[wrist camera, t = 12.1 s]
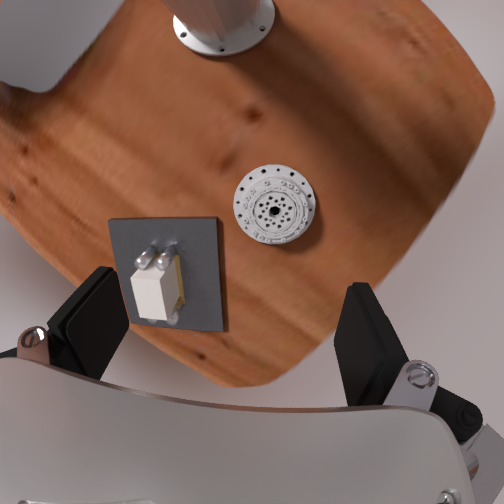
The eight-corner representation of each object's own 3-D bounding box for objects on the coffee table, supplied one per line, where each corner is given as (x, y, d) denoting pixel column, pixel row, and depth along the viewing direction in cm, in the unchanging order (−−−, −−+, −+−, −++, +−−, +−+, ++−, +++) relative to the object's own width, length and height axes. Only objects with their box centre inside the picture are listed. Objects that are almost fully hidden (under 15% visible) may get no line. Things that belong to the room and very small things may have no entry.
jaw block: (148, 257, 37) (130, 278, 31) (174, 258, 36) (159, 279, 31) (154, 294, 39) (139, 317, 34) (179, 295, 39) (167, 320, 33)
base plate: (111, 218, 36) (92, 230, 31) (217, 216, 35) (209, 229, 30) (133, 319, 43) (121, 338, 38) (224, 327, 42) (219, 349, 38)
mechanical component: (328, 188, 33) (257, 149, 32) (336, 195, 29) (255, 151, 27) (289, 252, 37) (221, 218, 35) (291, 267, 33) (215, 230, 31)
